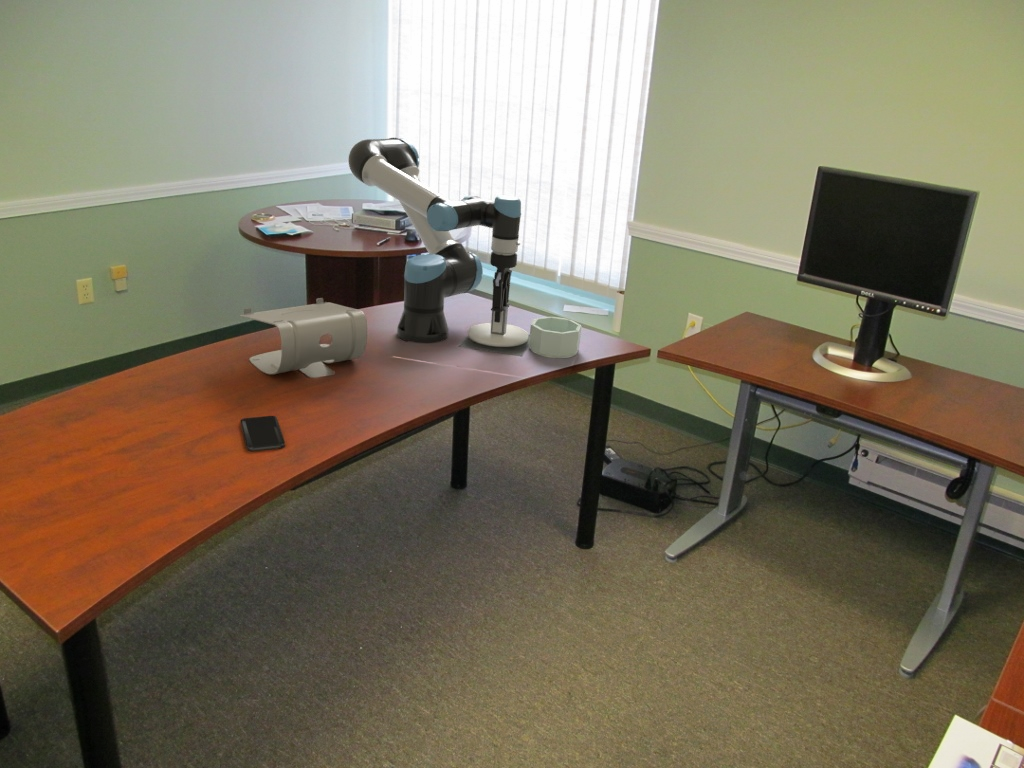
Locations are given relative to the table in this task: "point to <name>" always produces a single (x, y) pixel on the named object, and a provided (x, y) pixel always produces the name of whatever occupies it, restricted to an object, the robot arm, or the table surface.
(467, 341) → the mat
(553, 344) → the bowl
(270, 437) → the phone
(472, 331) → the lid
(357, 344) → the portable electronic device stand
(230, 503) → the table surface
